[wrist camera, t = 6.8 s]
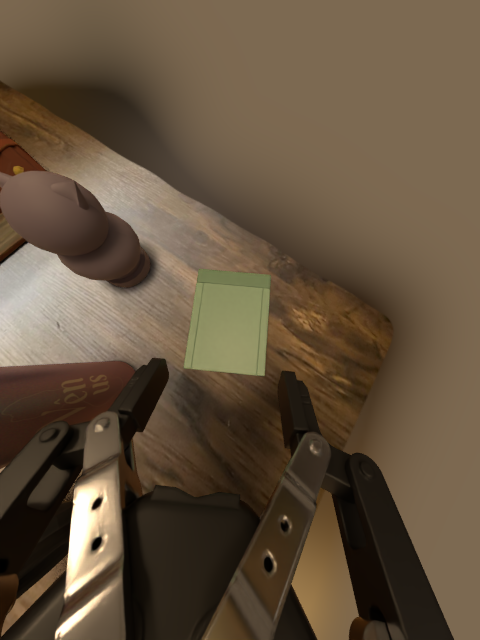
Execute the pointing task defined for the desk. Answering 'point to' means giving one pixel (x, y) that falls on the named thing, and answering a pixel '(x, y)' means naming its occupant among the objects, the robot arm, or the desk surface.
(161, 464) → the desk surface
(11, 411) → the beverage can
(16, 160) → the book
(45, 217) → the cat figurine
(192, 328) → the green open-top box
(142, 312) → the desk surface
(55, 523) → the headphones
